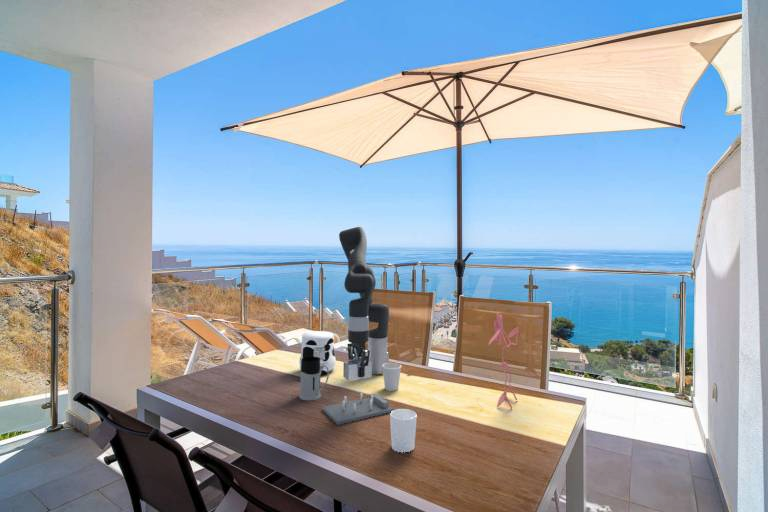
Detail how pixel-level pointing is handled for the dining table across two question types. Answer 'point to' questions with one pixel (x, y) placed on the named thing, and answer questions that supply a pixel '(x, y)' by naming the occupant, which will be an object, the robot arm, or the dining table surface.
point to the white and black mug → (311, 378)
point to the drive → (355, 370)
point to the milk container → (319, 348)
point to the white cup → (403, 429)
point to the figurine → (497, 337)
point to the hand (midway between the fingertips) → (357, 374)
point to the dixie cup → (391, 375)
